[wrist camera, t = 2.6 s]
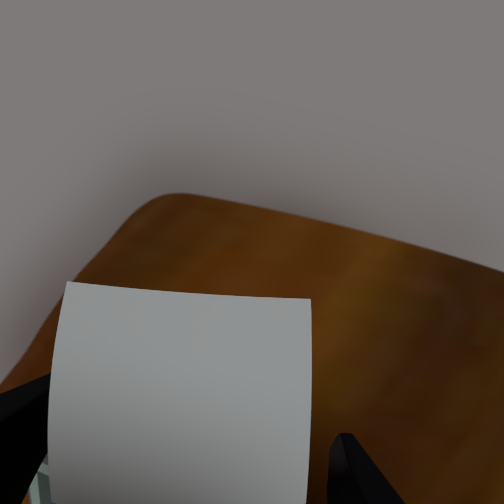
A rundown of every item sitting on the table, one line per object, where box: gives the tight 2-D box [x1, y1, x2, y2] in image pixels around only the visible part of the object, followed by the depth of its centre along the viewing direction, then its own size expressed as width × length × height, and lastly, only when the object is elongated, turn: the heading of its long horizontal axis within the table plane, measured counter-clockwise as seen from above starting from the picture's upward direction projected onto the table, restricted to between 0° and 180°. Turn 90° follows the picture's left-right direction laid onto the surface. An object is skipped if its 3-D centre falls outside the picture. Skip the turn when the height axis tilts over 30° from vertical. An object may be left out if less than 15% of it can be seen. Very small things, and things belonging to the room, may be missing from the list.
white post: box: [48, 282, 312, 504], centre depth 10 cm, size 5×5×12 cm
